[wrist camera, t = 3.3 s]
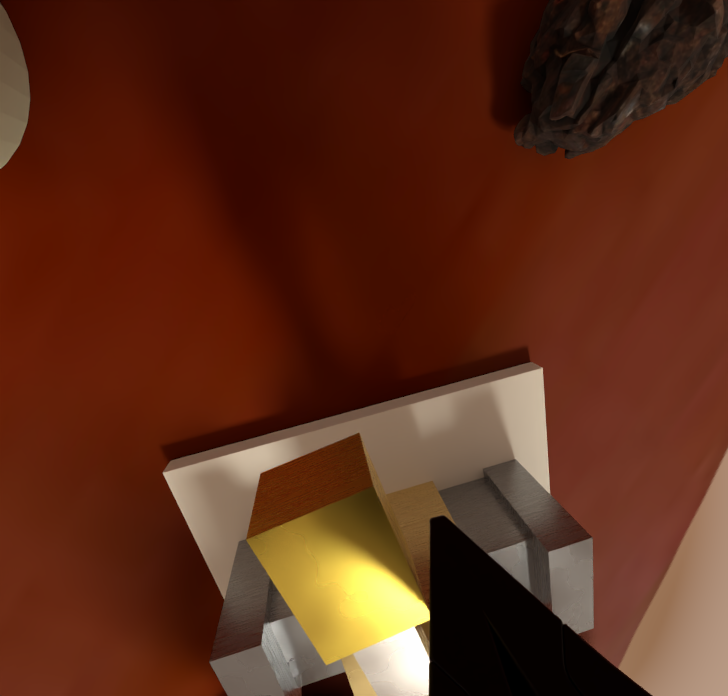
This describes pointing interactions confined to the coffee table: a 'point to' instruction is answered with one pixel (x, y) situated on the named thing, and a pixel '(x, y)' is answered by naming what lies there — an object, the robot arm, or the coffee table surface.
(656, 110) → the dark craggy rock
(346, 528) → the valve lever
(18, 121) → the reusable coffee cup
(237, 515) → the mounting board
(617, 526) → the coffee table surface
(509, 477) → the blocks
